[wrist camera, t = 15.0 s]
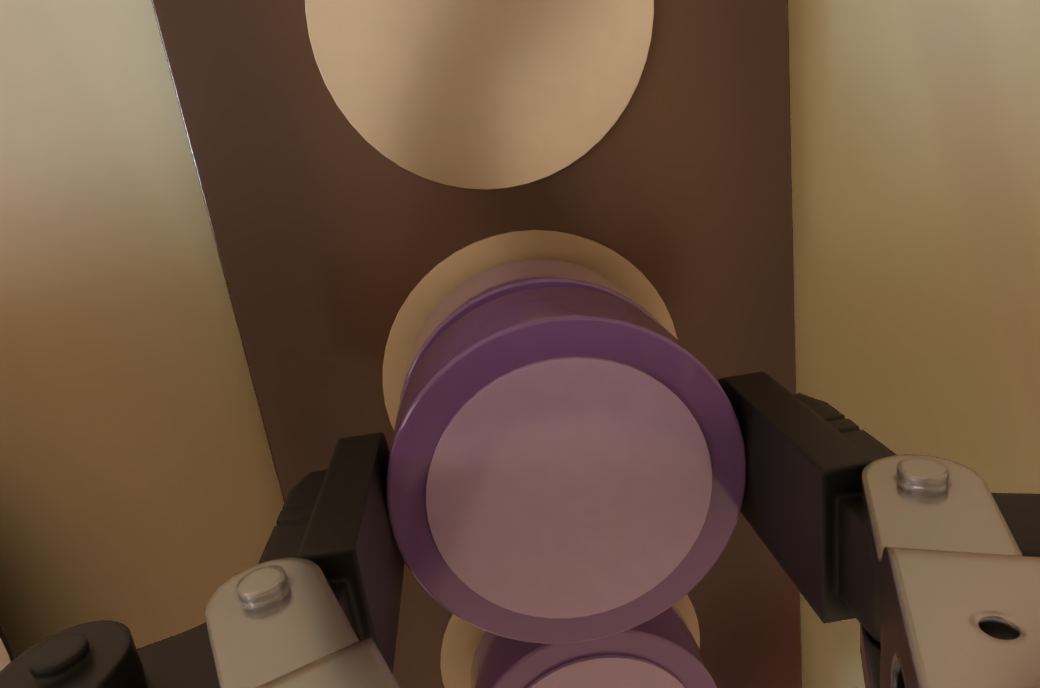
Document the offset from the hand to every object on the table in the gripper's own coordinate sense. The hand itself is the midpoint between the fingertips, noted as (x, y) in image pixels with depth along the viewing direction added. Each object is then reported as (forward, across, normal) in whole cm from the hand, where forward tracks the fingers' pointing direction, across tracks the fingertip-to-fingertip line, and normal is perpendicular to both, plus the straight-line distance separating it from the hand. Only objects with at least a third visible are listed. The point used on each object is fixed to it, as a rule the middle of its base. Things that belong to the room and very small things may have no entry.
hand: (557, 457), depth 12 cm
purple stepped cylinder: (+1, 0, 0) cm, 1 cm away
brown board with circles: (+4, 0, 0) cm, 4 cm away
